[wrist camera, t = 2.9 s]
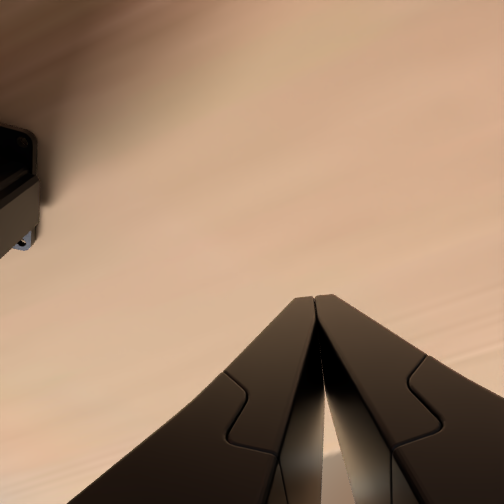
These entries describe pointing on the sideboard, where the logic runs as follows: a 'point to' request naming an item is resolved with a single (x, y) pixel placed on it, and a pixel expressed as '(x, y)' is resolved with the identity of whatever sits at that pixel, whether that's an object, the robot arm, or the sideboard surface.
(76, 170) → the sideboard surface
